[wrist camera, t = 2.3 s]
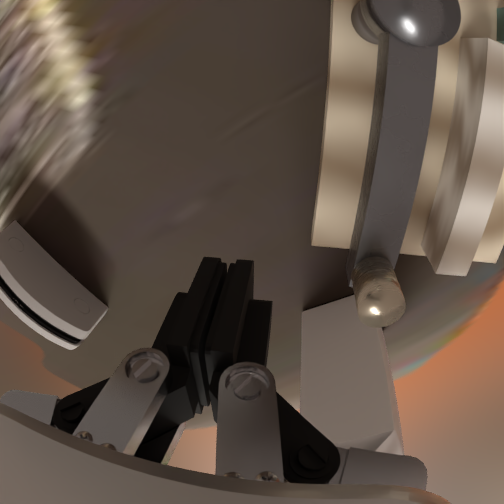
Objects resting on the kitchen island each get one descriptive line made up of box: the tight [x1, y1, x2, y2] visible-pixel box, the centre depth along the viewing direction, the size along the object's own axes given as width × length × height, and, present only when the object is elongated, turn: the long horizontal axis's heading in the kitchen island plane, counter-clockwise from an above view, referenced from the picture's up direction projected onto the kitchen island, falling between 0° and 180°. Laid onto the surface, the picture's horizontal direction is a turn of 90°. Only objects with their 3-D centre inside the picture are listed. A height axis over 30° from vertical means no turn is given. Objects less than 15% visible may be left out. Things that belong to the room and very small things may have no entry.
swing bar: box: [345, 0, 461, 328], centre depth 13 cm, size 18×4×6 cm, turn 179°
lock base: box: [311, 0, 504, 276], centre depth 16 cm, size 24×19×9 cm
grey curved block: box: [0, 220, 108, 350], centre depth 30 cm, size 17×5×10 cm, turn 43°
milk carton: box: [300, 295, 404, 455], centre depth 24 cm, size 7×7×19 cm
